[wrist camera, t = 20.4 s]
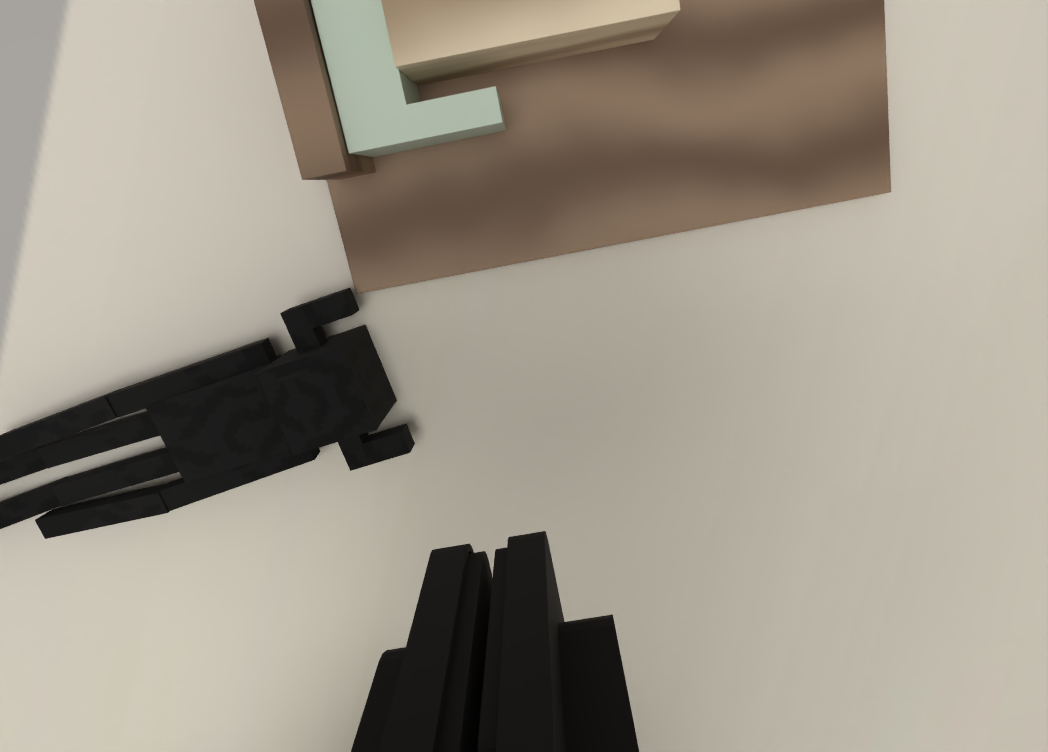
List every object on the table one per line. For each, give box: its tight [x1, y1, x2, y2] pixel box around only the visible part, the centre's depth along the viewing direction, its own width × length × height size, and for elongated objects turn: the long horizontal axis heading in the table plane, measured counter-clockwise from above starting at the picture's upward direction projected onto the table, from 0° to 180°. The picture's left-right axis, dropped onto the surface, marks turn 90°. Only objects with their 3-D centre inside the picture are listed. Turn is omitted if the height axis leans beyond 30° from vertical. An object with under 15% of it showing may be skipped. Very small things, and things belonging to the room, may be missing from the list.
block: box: [311, 0, 506, 157], centre depth 31 cm, size 10×7×5 cm, turn 11°
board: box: [254, 0, 891, 294], centre depth 31 cm, size 20×29×7 cm
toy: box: [0, 288, 415, 539], centre depth 39 cm, size 10×5×30 cm
